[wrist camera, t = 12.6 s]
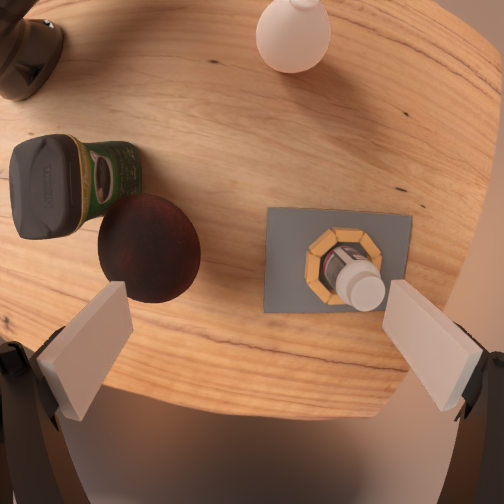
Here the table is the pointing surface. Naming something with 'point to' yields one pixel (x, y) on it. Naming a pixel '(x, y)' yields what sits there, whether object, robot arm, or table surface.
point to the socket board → (316, 249)
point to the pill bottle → (354, 278)
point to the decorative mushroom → (149, 248)
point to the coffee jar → (68, 183)
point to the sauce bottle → (293, 34)
